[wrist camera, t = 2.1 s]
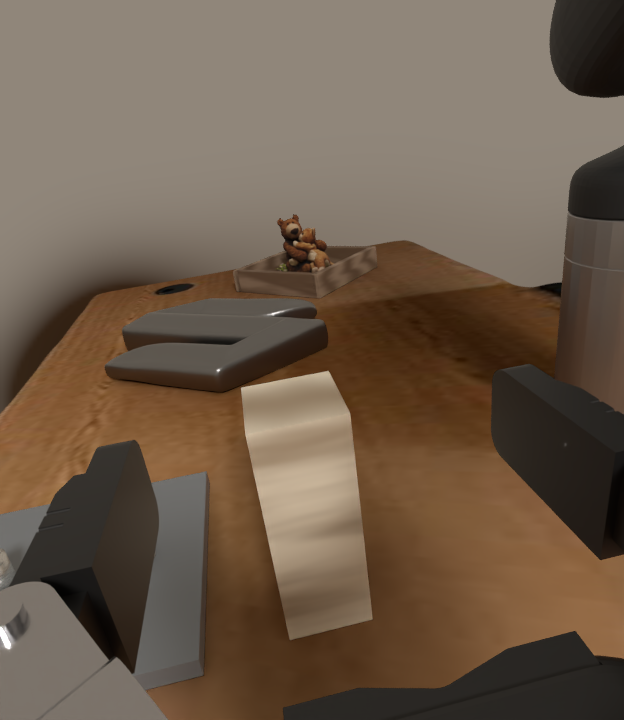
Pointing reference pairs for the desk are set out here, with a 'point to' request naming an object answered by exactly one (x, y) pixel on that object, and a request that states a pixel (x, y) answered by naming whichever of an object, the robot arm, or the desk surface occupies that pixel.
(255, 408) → the birch post
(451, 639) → the desk surface
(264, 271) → the walnut display rim
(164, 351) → the emblem
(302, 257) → the bear figurine
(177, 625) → the slate base plate
